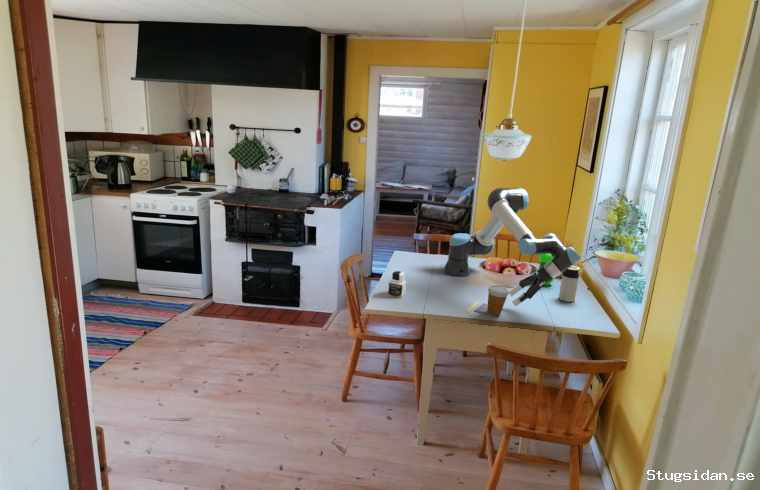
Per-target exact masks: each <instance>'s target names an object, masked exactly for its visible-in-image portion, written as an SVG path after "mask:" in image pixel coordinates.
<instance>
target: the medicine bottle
mask: <svg viewBox="0 0 760 490" xmlns="http://www.w3.org/2000/svg"><path fill="white" fill-rule="evenodd" d="M406 290H407V280H405V273H404V272H402V271H393V272H392V274H391V280H390V281H389V282H388V292H387V294H388V295H387V296H390V297H394V298H398V299H399V298H400V299H401V298H403V297H404V295H406Z"/></svg>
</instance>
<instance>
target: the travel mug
mask: <svg viewBox="0 0 760 490" xmlns="http://www.w3.org/2000/svg"><path fill="white" fill-rule="evenodd" d="M579 270H581V269H580V267H579V266H575V265H572V266H571V267H569V268H568V269H566V270H565V271H564V272H563V275H562V278H561V283H560V288H559V294H558V300H560V301H563V302H566V303H573V302H575V300H576V296H577V289H578V284H579V283H578V282H579V277H580V273H579Z"/></svg>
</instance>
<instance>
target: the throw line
mask: <svg viewBox="0 0 760 490" xmlns="http://www.w3.org/2000/svg"><path fill="white" fill-rule="evenodd" d="M480 303H481V301H477V302H476V303H474V304H473V305H472V306H471V307H469V308H468V309H467V310H466V311H465V312H467V313H470V312H471V311H472V310H474V309H475V308H476V307H478V305H479V304H480Z"/></svg>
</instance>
